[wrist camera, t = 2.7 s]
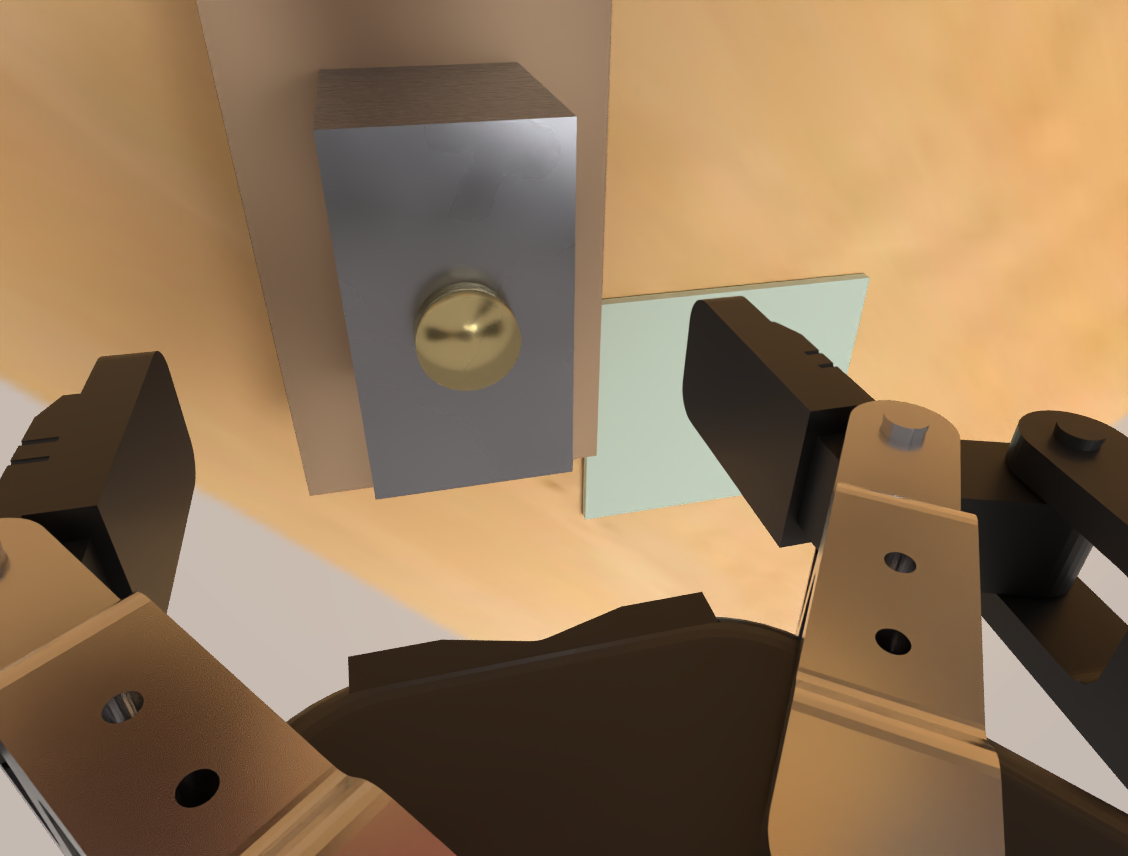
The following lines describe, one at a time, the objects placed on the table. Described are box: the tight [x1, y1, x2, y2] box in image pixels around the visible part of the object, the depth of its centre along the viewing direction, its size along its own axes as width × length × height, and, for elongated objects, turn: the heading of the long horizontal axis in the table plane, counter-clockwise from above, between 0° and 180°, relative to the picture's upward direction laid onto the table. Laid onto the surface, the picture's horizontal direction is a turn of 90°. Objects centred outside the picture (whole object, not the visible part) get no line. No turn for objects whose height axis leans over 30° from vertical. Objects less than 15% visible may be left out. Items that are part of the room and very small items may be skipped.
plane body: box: [196, 0, 612, 496], centre depth 20 cm, size 8×14×5 cm, turn 0°
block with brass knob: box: [313, 62, 577, 499], centre depth 16 cm, size 4×7×6 cm, turn 0°
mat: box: [583, 273, 870, 519], centre depth 29 cm, size 10×9×1 cm
